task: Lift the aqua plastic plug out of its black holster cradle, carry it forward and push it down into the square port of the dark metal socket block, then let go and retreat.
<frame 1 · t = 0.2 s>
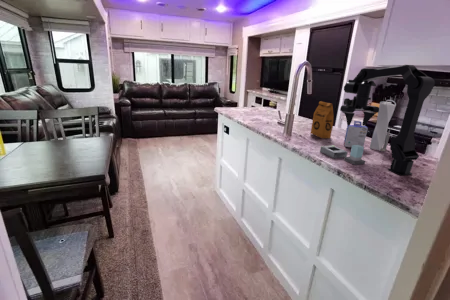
hand: (355, 125, 122), 14 cm above the countertop, fingers open, 9 cm apart
socket: (332, 154, 120), on the countertop
plug: (354, 162, 111), resting in holster
coffee package: (320, 136, 153), on the countertop
ink cartridge box: (352, 146, 135), on the countertop
skyscraper: (376, 149, 133), on the countertop
holster: (354, 161, 111), on the countertop
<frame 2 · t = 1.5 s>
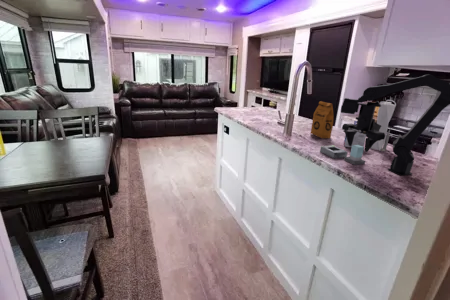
hand: (357, 148, 109), 7 cm above the countertop, fingers open, 9 cm apart
nothing on the countertop moved.
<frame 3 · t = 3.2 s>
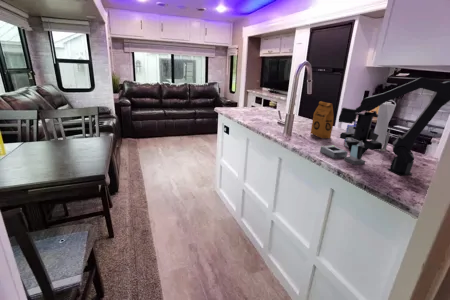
hand: (355, 157, 111), 2 cm above the countertop, fingers closed on plug, 3 cm apart
plug: (354, 162, 111), resting in holster, touching gripper
everything else where it was.
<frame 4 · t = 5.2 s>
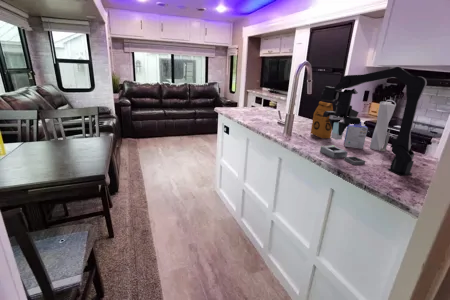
hand: (337, 134, 117), 11 cm above the countertop, fingers closed on plug, 3 cm apart
plug: (336, 138, 117), point 9 cm above the countertop, touching gripper
everything else where it was.
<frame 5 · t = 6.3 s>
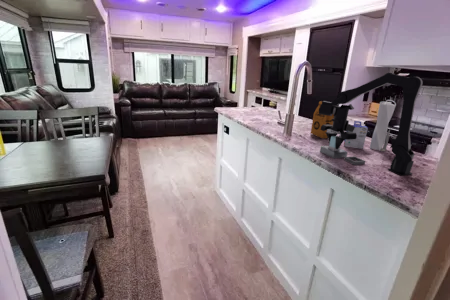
hand: (334, 147, 119), 4 cm above the countertop, fingers closed on plug, 3 cm apart
plug: (333, 151, 120), point 1 cm above the countertop, touching gripper
everything else where it was.
when the fingers open (3 cm above the countertop, at t = 7.4 s): plug stays where it is, resting in socket.
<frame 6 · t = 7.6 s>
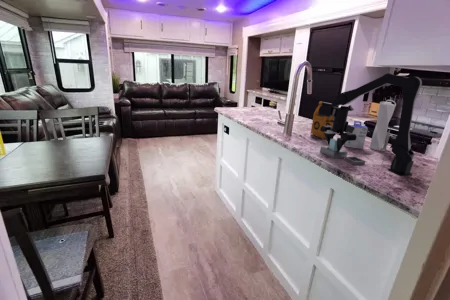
hand: (333, 148, 119), 3 cm above the countertop, fingers open, 6 cm apart
plug: (332, 154, 120), resting in socket
everything else where it was.
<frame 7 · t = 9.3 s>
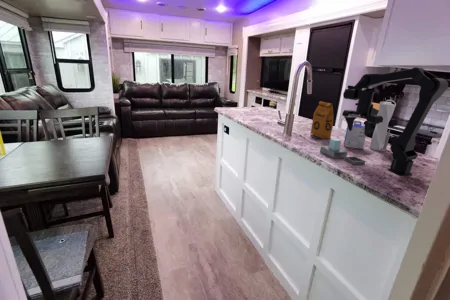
hand: (357, 133, 117), 12 cm above the countertop, fingers open, 9 cm apart
nothing on the countertop moved.
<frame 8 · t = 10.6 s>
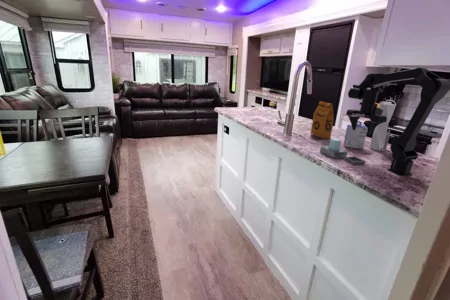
hand: (361, 132, 117), 12 cm above the countertop, fingers open, 9 cm apart
nothing on the countertop moved.
at the end: plug 0.1 cm off-centre on the socket, point 0.0 cm above the socket's base; plug tilted 0°; the gripper is holding nothing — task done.
